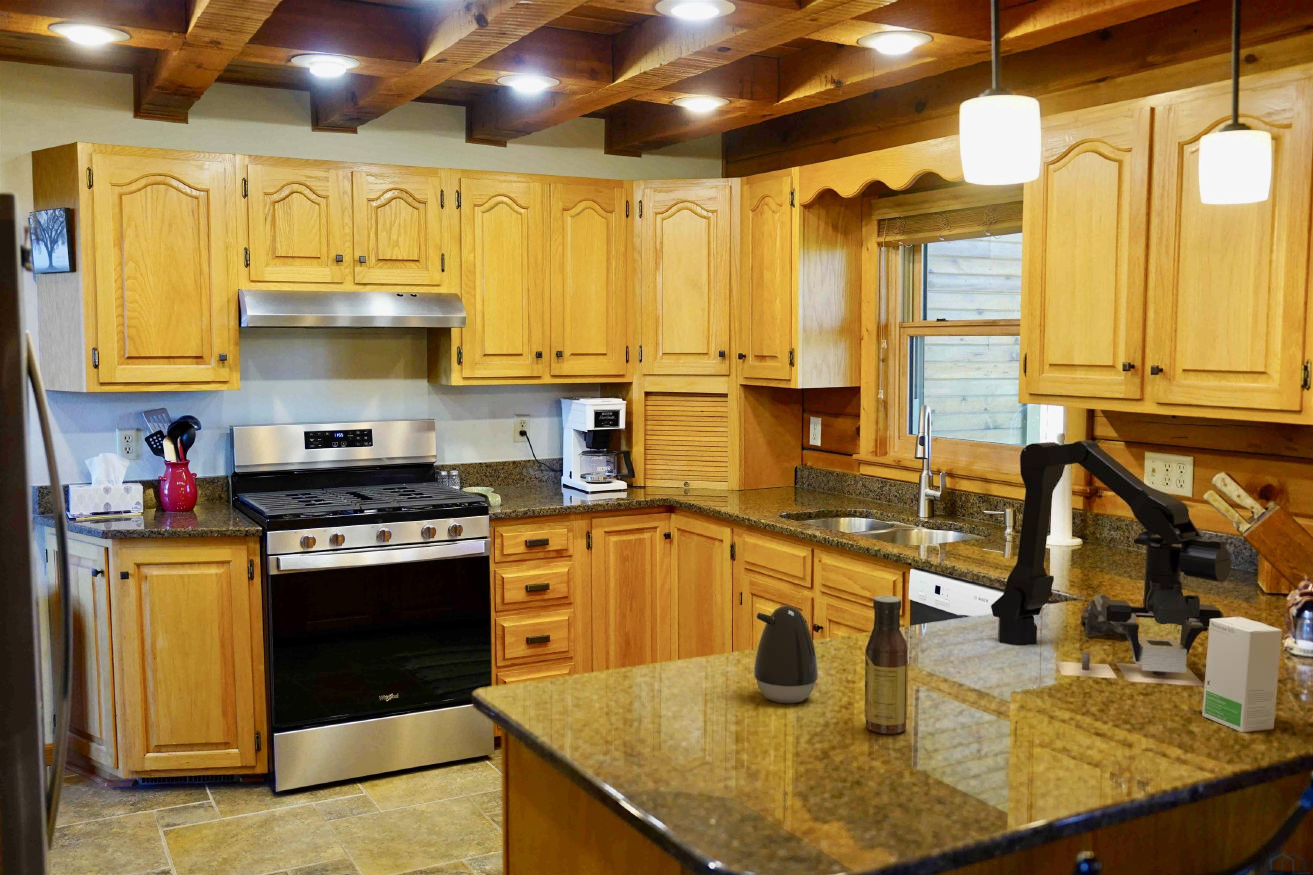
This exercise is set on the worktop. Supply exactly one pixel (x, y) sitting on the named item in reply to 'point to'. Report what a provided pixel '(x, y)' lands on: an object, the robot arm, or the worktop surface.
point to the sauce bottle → (886, 670)
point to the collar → (1161, 655)
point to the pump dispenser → (785, 657)
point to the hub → (1158, 676)
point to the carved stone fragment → (1099, 620)
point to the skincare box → (1242, 673)
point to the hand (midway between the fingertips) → (1158, 662)
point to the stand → (1085, 668)
